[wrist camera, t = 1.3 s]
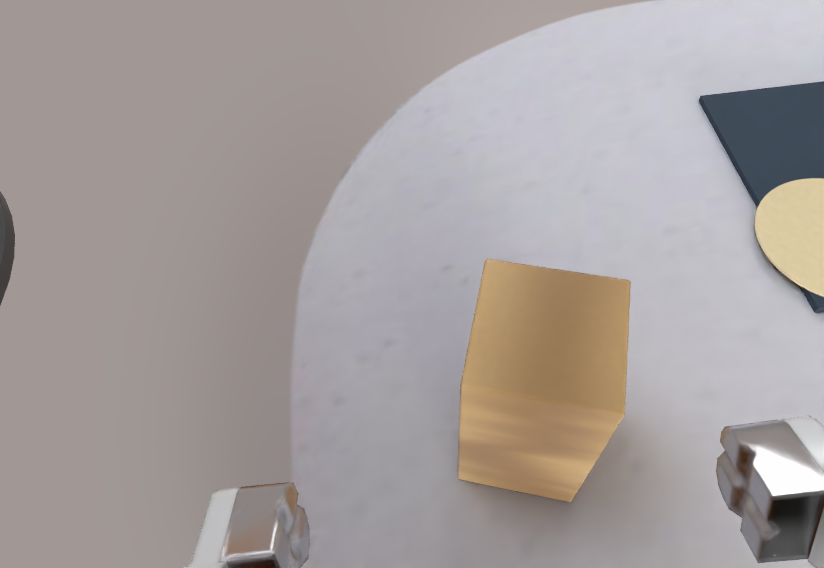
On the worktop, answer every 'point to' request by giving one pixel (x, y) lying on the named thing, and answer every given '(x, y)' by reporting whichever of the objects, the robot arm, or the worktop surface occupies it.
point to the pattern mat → (780, 172)
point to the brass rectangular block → (542, 378)
